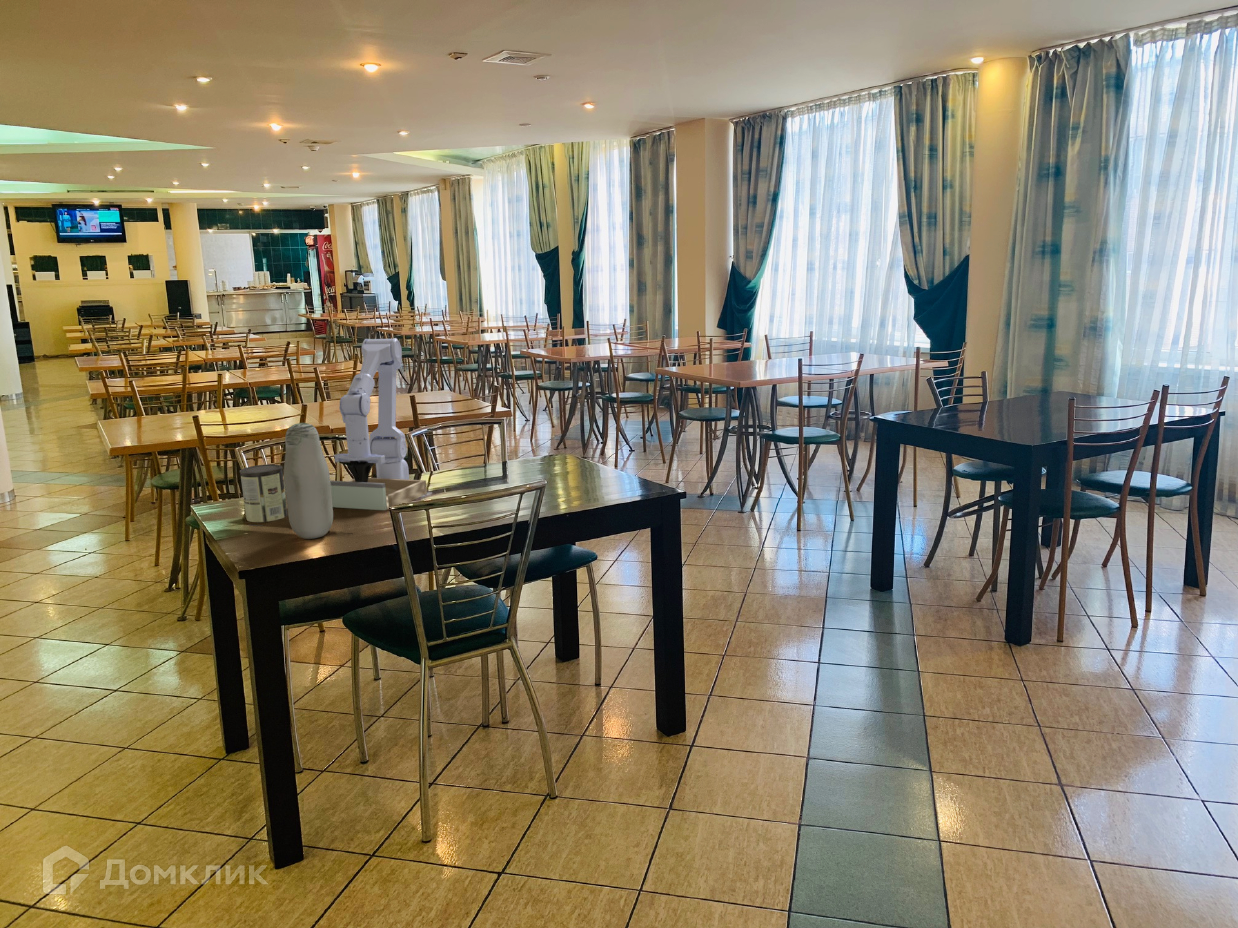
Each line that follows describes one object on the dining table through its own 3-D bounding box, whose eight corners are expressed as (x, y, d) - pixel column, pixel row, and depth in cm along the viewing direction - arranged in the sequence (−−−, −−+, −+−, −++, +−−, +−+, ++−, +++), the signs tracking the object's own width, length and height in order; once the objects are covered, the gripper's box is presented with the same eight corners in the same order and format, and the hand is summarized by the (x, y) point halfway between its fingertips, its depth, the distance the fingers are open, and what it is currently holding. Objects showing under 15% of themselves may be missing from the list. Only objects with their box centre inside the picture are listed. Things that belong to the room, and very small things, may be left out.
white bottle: (297, 532, 220) (284, 420, 214) (339, 530, 220) (328, 419, 214) (285, 544, 210) (272, 427, 204) (329, 542, 211) (317, 425, 205)
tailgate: (326, 505, 241) (323, 480, 239) (387, 509, 235) (384, 483, 233) (323, 506, 240) (320, 481, 238) (384, 510, 234) (382, 484, 232)
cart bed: (359, 493, 258) (357, 477, 257) (427, 497, 250) (425, 480, 249) (322, 509, 242) (320, 491, 241) (393, 513, 235) (391, 495, 234)
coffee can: (263, 515, 238) (256, 463, 235) (296, 516, 235) (290, 464, 232) (237, 525, 228) (230, 472, 225) (271, 527, 225) (265, 473, 222)
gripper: (325, 441, 236) (330, 490, 239) (372, 442, 231) (377, 493, 234) (341, 436, 242) (346, 484, 245) (387, 437, 238) (392, 487, 241)
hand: (362, 488), depth 240 cm, fingers closed
